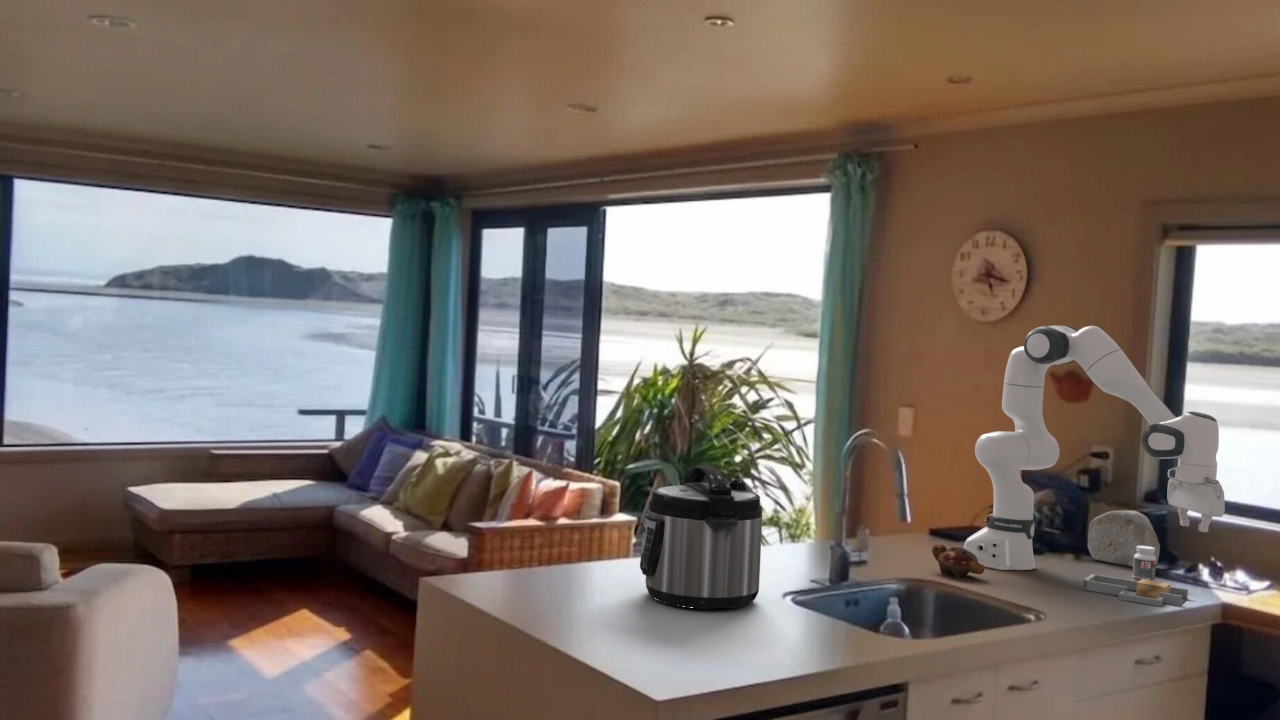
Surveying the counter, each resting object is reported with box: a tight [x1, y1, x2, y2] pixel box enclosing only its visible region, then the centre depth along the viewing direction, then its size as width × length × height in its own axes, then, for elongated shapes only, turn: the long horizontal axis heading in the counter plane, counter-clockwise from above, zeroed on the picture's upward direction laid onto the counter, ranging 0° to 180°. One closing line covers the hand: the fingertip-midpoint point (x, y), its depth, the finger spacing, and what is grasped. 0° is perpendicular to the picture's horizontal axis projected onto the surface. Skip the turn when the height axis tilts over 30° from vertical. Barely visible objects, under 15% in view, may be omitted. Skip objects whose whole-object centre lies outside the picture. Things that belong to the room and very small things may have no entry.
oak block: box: [1135, 579, 1172, 599], centre depth 299 cm, size 7×6×4 cm
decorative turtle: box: [931, 543, 986, 578], centre depth 313 cm, size 10×15×8 cm, turn 56°
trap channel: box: [1082, 573, 1189, 607], centre depth 299 cm, size 24×16×2 cm, turn 56°
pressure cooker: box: [639, 464, 763, 610], centre depth 269 cm, size 30×28×32 cm
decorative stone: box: [1087, 509, 1161, 568], centre depth 342 cm, size 17×20×10 cm
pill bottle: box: [1131, 546, 1157, 581], centre depth 317 cm, size 6×6×10 cm
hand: (1193, 528), depth 294 cm, fingers open, 7 cm apart
